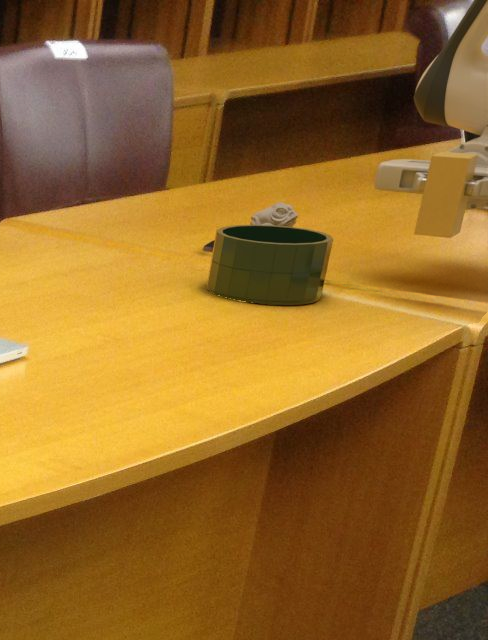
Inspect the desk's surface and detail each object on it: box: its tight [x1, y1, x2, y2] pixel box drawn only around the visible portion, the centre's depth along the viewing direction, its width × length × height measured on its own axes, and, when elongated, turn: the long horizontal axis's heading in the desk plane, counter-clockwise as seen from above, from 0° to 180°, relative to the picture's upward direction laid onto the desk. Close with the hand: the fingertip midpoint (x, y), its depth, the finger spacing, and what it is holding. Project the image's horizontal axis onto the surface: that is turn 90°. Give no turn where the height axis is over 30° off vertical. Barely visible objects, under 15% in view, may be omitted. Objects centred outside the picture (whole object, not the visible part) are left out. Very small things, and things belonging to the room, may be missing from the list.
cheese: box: [413, 151, 478, 239], centre depth 201 cm, size 4×5×10 cm
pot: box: [206, 224, 334, 306], centre depth 209 cm, size 15×15×8 cm
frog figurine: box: [249, 202, 299, 227], centre depth 238 cm, size 6×7×7 cm
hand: (446, 187), depth 200 cm, fingers closed on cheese, 4 cm apart
